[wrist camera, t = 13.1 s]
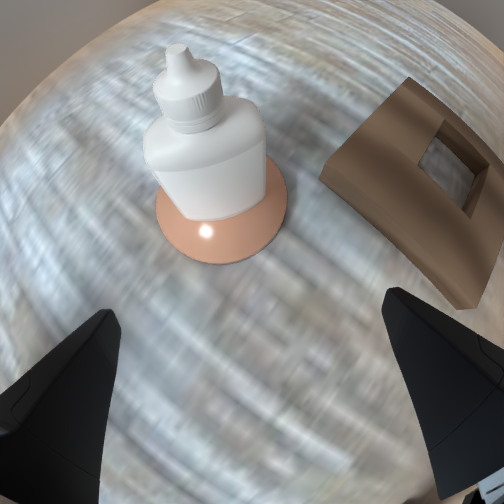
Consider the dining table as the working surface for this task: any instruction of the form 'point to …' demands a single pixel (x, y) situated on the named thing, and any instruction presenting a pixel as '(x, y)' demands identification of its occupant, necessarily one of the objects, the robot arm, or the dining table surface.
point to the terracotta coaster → (227, 226)
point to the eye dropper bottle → (205, 141)
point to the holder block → (424, 191)
